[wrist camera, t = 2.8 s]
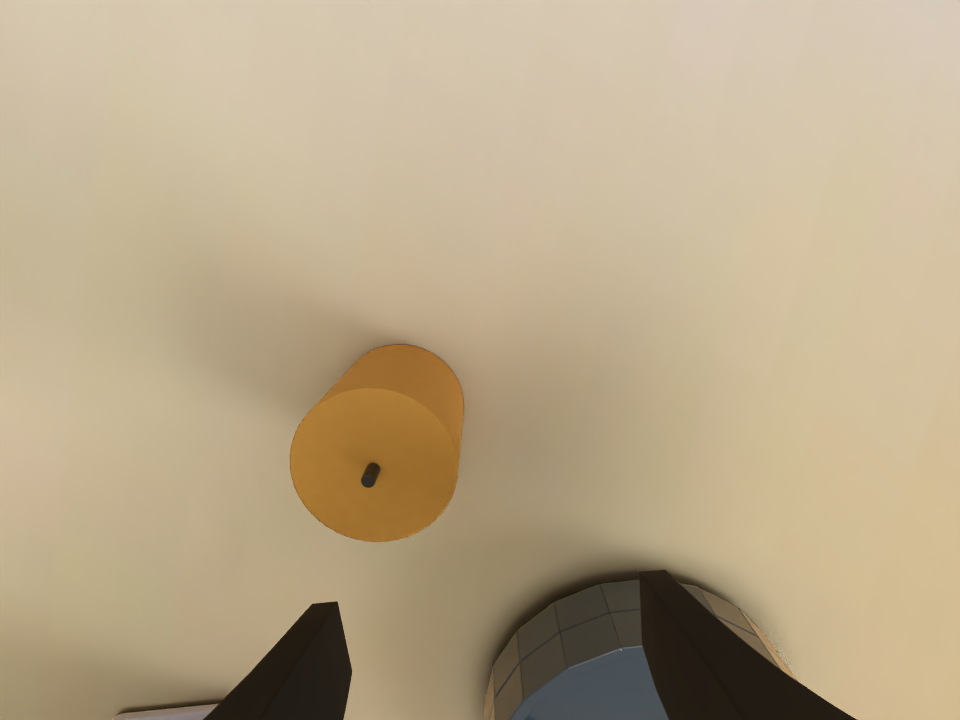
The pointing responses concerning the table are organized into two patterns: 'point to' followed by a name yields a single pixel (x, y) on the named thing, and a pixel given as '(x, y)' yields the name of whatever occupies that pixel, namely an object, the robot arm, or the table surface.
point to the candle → (382, 446)
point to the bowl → (594, 658)
